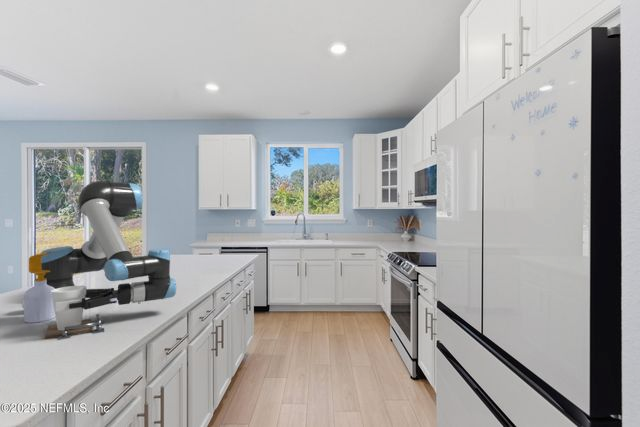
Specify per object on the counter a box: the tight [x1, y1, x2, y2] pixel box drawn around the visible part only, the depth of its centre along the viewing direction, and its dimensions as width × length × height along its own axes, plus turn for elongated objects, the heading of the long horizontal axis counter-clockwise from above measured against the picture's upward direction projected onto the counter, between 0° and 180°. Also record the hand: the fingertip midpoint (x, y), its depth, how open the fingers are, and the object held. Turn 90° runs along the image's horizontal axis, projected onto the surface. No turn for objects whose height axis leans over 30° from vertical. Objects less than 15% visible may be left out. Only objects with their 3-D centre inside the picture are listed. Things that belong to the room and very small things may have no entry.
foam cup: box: [51, 285, 87, 330], centre depth 109 cm, size 10×9×13 cm
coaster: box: [44, 318, 92, 340], centre depth 109 cm, size 12×12×1 cm
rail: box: [57, 313, 105, 341], centre depth 110 cm, size 13×12×3 cm
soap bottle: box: [23, 252, 56, 324], centre depth 119 cm, size 9×9×25 cm
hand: (57, 302), depth 107 cm, fingers open, 13 cm apart
